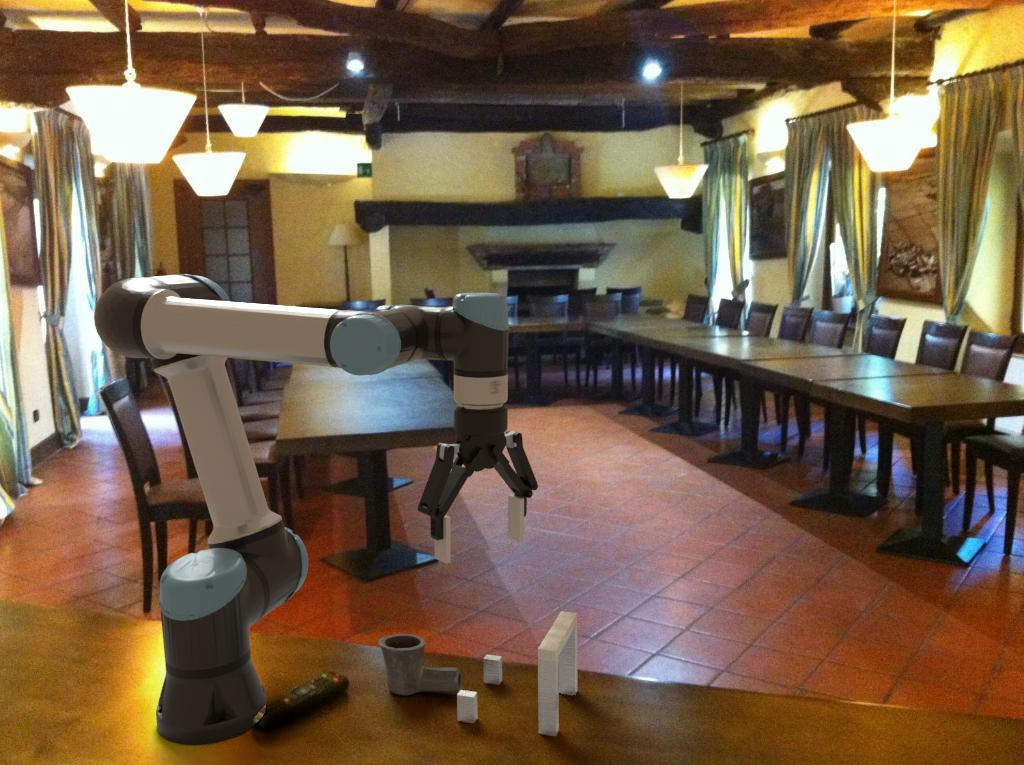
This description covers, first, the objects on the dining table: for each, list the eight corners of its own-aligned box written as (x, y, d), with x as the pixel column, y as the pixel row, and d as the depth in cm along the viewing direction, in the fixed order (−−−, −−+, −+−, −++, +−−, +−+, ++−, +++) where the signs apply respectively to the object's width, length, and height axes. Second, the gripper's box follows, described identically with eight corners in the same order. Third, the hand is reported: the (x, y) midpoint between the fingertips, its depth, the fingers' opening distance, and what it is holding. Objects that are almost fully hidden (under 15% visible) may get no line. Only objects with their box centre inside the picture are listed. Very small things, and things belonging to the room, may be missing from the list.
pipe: (455, 705, 130) (454, 654, 129) (373, 697, 133) (371, 647, 131) (465, 685, 136) (464, 636, 135) (387, 678, 139) (385, 630, 137)
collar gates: (457, 721, 126) (455, 638, 124) (487, 678, 138) (485, 602, 136) (556, 736, 121) (555, 651, 119) (577, 690, 134) (577, 612, 132)
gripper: (424, 419, 112) (425, 578, 115) (563, 397, 128) (560, 537, 132) (391, 410, 118) (393, 562, 121) (528, 390, 134) (526, 524, 137)
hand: (480, 549), depth 126 cm, fingers open, 13 cm apart
